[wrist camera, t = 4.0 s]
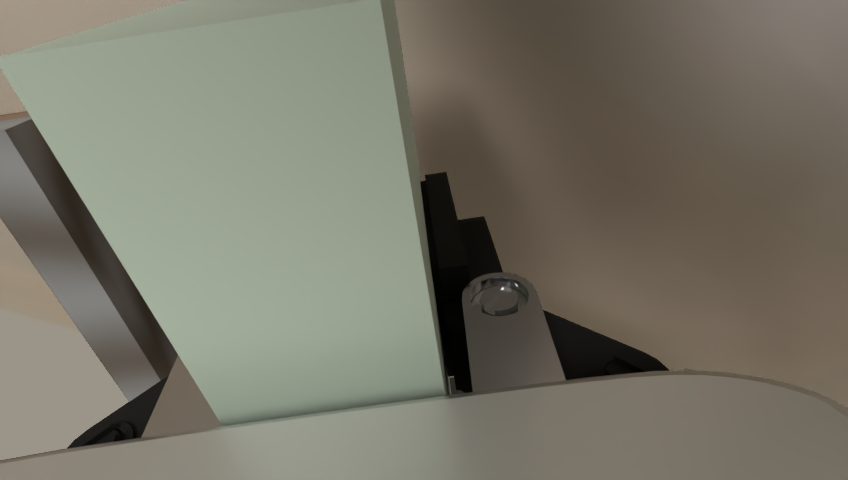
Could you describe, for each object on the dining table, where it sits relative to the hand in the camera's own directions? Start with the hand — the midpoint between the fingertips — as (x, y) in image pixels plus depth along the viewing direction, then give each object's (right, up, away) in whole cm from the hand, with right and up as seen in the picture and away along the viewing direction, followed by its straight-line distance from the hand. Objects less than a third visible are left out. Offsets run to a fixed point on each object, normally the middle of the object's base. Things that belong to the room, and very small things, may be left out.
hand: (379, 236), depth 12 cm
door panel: (0, +2, +3) cm, 3 cm away
